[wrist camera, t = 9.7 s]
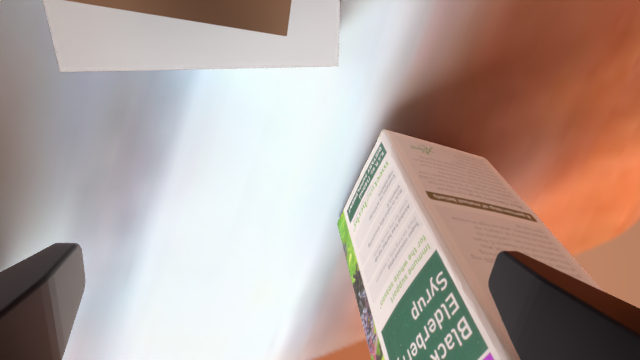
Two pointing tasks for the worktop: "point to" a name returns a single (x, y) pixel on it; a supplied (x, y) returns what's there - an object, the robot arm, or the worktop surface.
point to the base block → (187, 40)
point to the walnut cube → (213, 12)
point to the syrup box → (437, 250)
